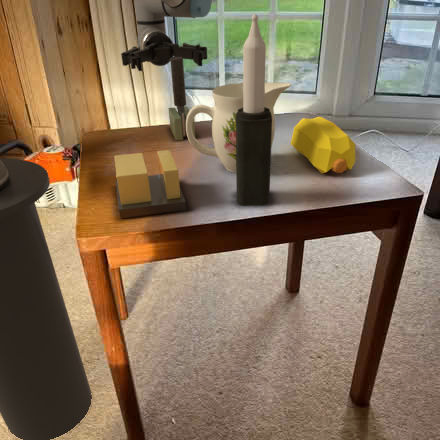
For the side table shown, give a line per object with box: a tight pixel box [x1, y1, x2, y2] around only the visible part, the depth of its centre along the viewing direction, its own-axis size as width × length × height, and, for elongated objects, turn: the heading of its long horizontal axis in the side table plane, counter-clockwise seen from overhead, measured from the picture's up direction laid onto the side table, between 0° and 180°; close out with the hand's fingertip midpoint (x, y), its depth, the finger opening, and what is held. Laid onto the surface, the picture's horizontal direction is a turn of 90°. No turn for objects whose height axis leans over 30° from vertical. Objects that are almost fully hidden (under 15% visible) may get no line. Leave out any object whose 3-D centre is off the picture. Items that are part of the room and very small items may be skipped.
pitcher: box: [186, 82, 292, 174], centre depth 79 cm, size 11×18×14 cm, turn 93°
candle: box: [235, 14, 272, 206], centre depth 64 cm, size 5×5×25 cm
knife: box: [169, 56, 187, 138], centre depth 95 cm, size 6×3×15 cm, turn 13°
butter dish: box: [114, 149, 187, 220], centre depth 71 cm, size 12×10×6 cm
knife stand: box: [168, 105, 196, 141], centre depth 99 cm, size 9×4×4 cm, turn 13°
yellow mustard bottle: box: [290, 116, 356, 174], centre depth 82 cm, size 18×7×8 cm
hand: (170, 61), depth 100 cm, fingers open, 13 cm apart
